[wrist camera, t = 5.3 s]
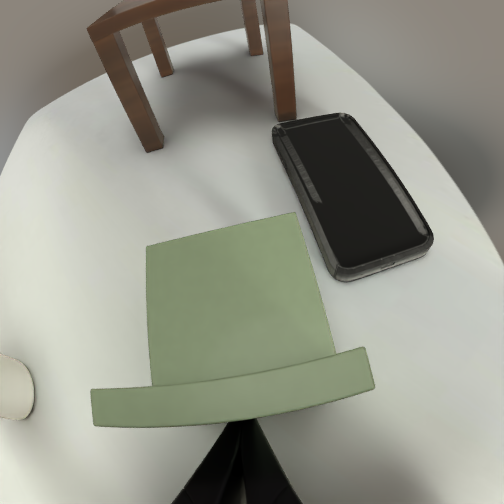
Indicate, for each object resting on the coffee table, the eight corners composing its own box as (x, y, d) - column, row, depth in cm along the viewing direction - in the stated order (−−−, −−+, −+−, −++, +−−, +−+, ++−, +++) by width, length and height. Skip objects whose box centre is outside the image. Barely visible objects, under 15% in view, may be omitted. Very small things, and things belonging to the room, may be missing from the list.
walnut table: (297, 119, 26) (285, -25, 13) (146, 153, 27) (86, 28, 14) (261, 50, 36) (247, -35, 23) (162, 72, 37) (134, -8, 24)
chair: (331, 395, 15) (376, 388, 6) (193, 419, 15) (92, 426, 7) (296, 257, 19) (292, 141, 11) (177, 283, 19) (102, 191, 11)
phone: (348, 111, 24) (439, 244, 17) (347, 120, 25) (433, 252, 18) (267, 126, 24) (335, 279, 17) (268, 135, 25) (332, 287, 18)
